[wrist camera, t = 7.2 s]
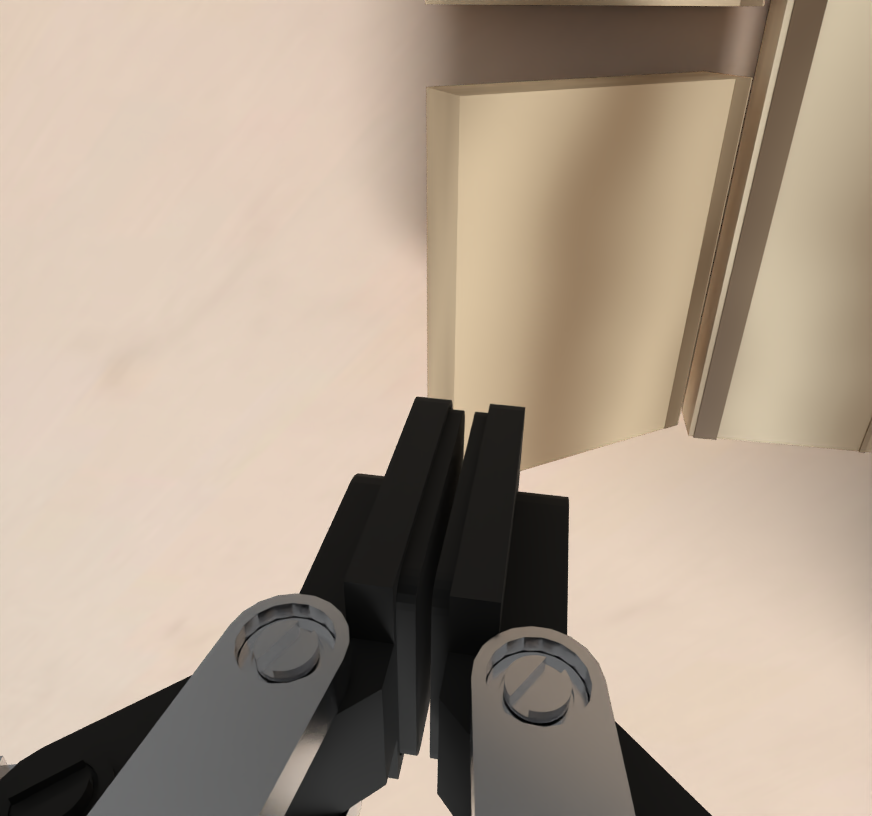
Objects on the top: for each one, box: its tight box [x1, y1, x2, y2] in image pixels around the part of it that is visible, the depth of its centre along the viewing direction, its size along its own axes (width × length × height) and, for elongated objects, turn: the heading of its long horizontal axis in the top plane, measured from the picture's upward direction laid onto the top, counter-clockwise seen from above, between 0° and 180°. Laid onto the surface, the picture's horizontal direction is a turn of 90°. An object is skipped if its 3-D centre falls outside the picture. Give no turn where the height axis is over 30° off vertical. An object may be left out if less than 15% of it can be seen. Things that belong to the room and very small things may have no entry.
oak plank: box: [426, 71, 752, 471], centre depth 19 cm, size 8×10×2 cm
